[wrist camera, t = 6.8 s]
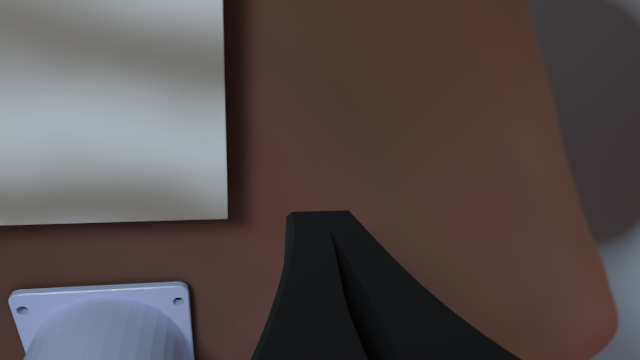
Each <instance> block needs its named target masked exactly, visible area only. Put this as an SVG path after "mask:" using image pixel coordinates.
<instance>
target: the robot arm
mask: <svg viewBox="0 0 640 360" xmlns="http://www.w3.org/2000/svg"><path fill="white" fill-rule="evenodd" d="M175 298H182V299H181V300H177V299H175ZM8 301H9V306H10V308H11V311H12V314H13V317H14V320H15V323H16V326H17V329H18V332H19V335H20V338H21V341H22V344H23V347H24V350H25V353H26V355H25V357H24V360H195V359H194V347H193V334H192V322H191V310H190V297H189V288H188V285H187V284H185V283H183V282H178V281H176V282H157V283H137V284H117V285H98V286H78V287H59V288H39V289H20V290H16V291H14V292H13V293H12V294H11V296H10V298H9V300H8ZM22 307H26V308H28V309H25V308H22ZM251 360H521V359H519V358H518V357H516V356H515V355H513V354H512V353H510V352H509V351H507V350H505V349H504V348H502V347H501V346H499V345H498V344H497V343H495V342H494V341H492V340H491V339H489V338H488V337H486V336H485V335H484V334H482V333H481V332H480V331H478V330H477V329H475V328H474V327H473V326H471V325H470V324H469V323H467V322H466V321H465V320H463V319H462V318H461V317H459V316H458V315H457V314H455V313H454V312H453V311H452V310H450V309H449V308H448V307H447V306H445V305H444V304H443V303H442V302H441V301H439V300H438V299H437V298H436V297H435V296H434V295H433V294H431V293H430V292H429V291H428V290H427V289H426V288H425V287H423V286H422V285H421V284H420V283H419V282H418V281H417V280H416V279H414V278H413V277H412V276H411V275H410V274H409V273H408V272H407V271H406V270H405V269H404V268H403V267H402V266H401V265H400V264H399V263H398V262H397V261H396V260H395V259H394V258H393V257H392V256H391V255H390V254H389V253H388V252H387V251H386V250H385V249H384V248H383V247H382V246H381V245H380V244H379V243H378V242H377V240H376V239H375V238H374V237H373V236H372V235H371V234H370V233H369V232H368V231H367V230H366V229H365V228H364V227H363V225H362V224H361V223H360V222H359V221H358V220H357V219H356V218H355V217H354V216H353V215H352V214H351V213H350V212H349V211H311V212H292V213H290V214H289V215H288V216H287V217H286V236H285V255H284V267H283V271H282V276H281V280H280V283H279V286H278V290H277V293H276V296H275V299H274V302H273V306H272V309H271V312H270V314H269V317H268V320H267V322H266V325H265V328H264V330H263V333H262V335H261V338H260V340H259V342H258V345H257V347H256V349H255V352H254V354H253V356H252V358H251Z"/></svg>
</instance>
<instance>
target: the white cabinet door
mask: <svg viewBox="0 0 640 360" xmlns="http://www.w3.org/2000/svg"><path fill="white" fill-rule="evenodd" d="M203 219H228V180H227V138H226V95H225V53H224V10H223V0H0V225H34V224H67V223H101V222H135V221H169V220H203Z"/></svg>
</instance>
